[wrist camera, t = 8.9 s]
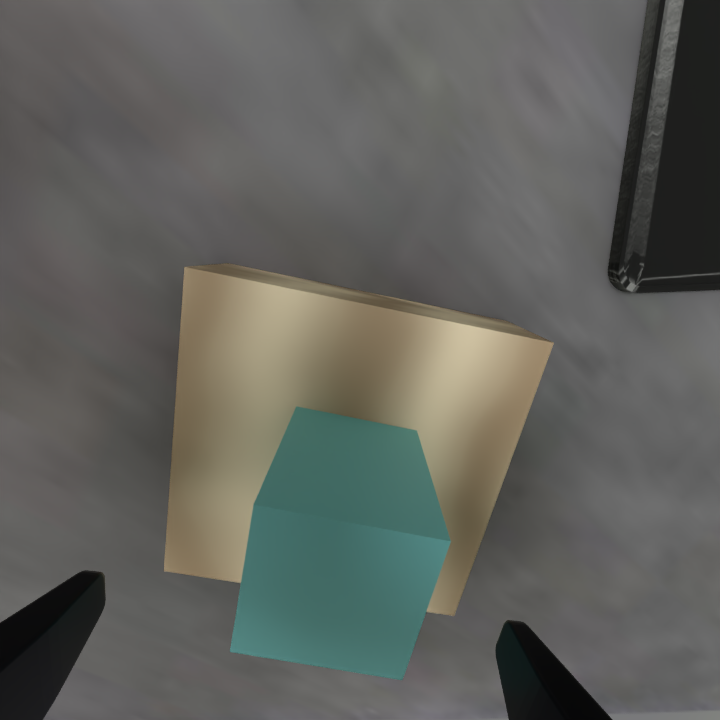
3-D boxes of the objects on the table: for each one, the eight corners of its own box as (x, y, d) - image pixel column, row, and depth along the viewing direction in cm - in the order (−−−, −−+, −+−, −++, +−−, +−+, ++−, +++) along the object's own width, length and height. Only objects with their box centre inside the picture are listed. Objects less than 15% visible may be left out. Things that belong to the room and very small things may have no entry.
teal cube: (277, 509, 16) (230, 651, 10) (296, 406, 15) (253, 504, 9) (388, 529, 16) (402, 680, 11) (416, 430, 15) (450, 541, 9)
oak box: (206, 500, 22) (163, 571, 17) (231, 262, 18) (184, 266, 13) (433, 538, 23) (454, 616, 18) (503, 319, 19) (553, 342, 14)
